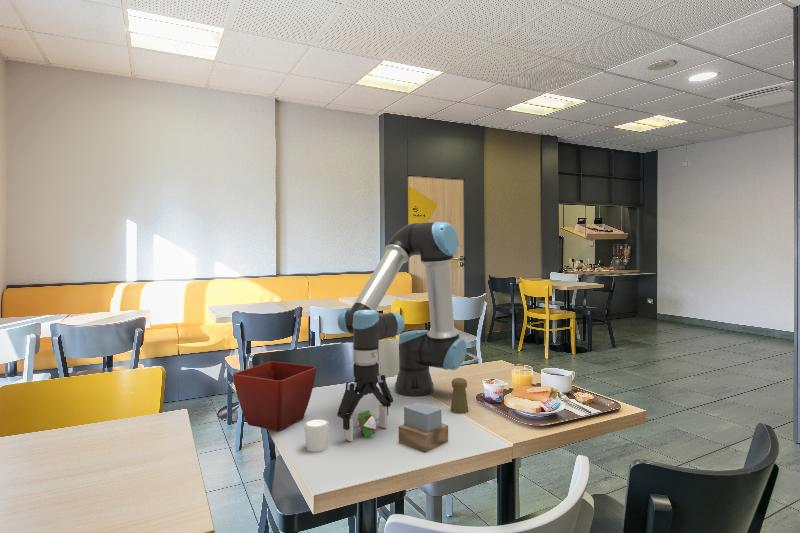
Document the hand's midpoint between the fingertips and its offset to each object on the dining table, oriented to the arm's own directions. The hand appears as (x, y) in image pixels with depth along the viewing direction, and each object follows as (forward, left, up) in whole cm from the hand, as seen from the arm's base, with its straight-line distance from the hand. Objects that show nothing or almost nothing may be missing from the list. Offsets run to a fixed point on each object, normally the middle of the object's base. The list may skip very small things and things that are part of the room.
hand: (366, 433), depth 143 cm
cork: (-35, +8, 0) cm, 36 cm away
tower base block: (-7, +16, -1) cm, 18 cm away
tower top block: (-7, +16, +4) cm, 18 cm away
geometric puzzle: (0, 0, 0) cm, 0 cm away
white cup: (+16, -3, 0) cm, 16 cm away
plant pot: (+13, -29, 0) cm, 31 cm away
